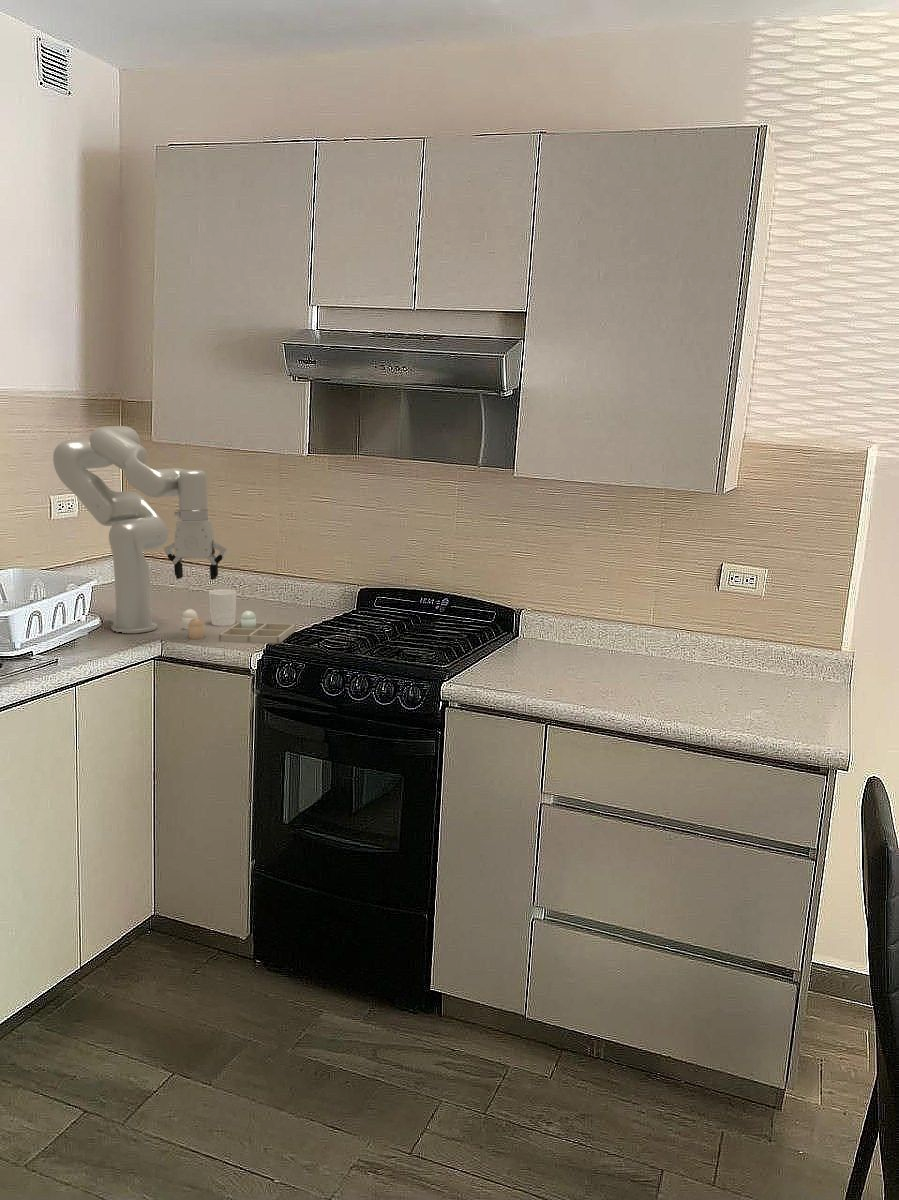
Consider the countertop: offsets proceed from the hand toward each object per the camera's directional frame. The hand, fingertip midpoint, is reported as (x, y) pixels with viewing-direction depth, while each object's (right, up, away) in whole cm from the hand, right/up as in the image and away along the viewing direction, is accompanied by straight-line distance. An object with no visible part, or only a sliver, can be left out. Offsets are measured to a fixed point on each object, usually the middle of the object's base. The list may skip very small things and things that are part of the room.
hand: (196, 578), depth 288 cm
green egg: (+12, -15, +10) cm, 22 cm away
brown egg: (-1, -17, +3) cm, 17 cm away
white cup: (+3, -14, +21) cm, 26 cm away
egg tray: (+16, -16, +6) cm, 24 cm away
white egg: (-5, -15, +14) cm, 21 cm away
